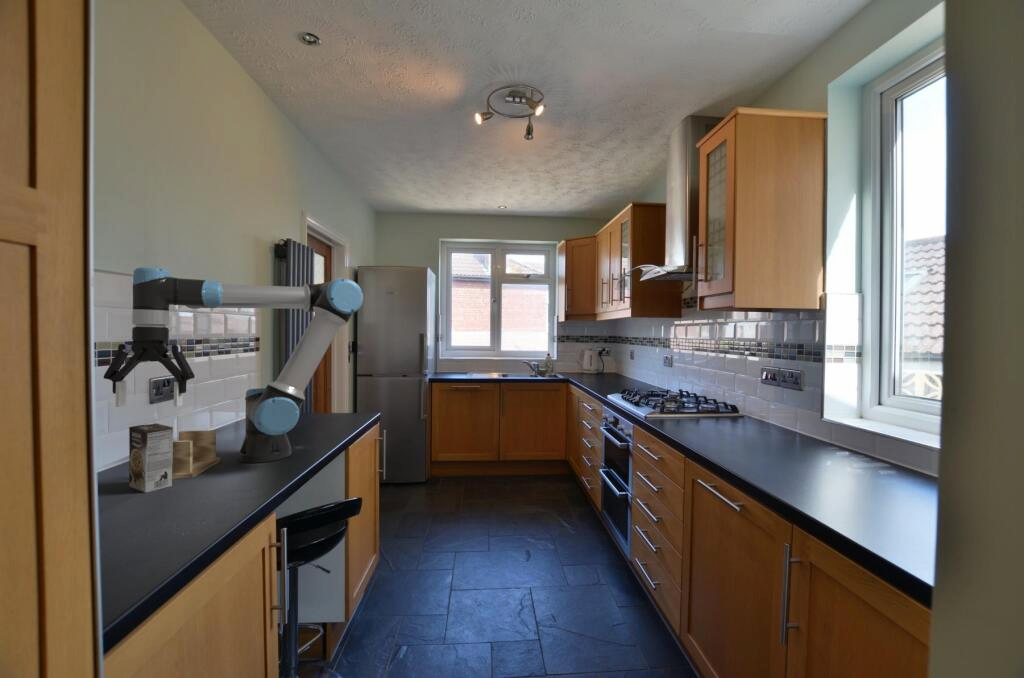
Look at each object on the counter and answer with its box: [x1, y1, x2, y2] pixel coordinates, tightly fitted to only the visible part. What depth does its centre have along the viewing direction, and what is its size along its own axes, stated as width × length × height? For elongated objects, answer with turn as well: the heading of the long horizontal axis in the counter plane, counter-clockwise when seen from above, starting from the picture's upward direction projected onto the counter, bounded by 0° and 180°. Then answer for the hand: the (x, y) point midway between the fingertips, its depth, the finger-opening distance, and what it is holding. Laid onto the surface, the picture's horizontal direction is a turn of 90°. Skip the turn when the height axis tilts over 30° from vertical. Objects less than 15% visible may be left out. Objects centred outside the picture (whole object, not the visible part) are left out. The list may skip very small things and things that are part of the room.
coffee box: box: [128, 422, 174, 493], centre depth 116 cm, size 9×6×16 cm
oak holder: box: [172, 429, 221, 480], centre depth 130 cm, size 12×16×10 cm
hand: (149, 406), depth 116 cm, fingers open, 13 cm apart
